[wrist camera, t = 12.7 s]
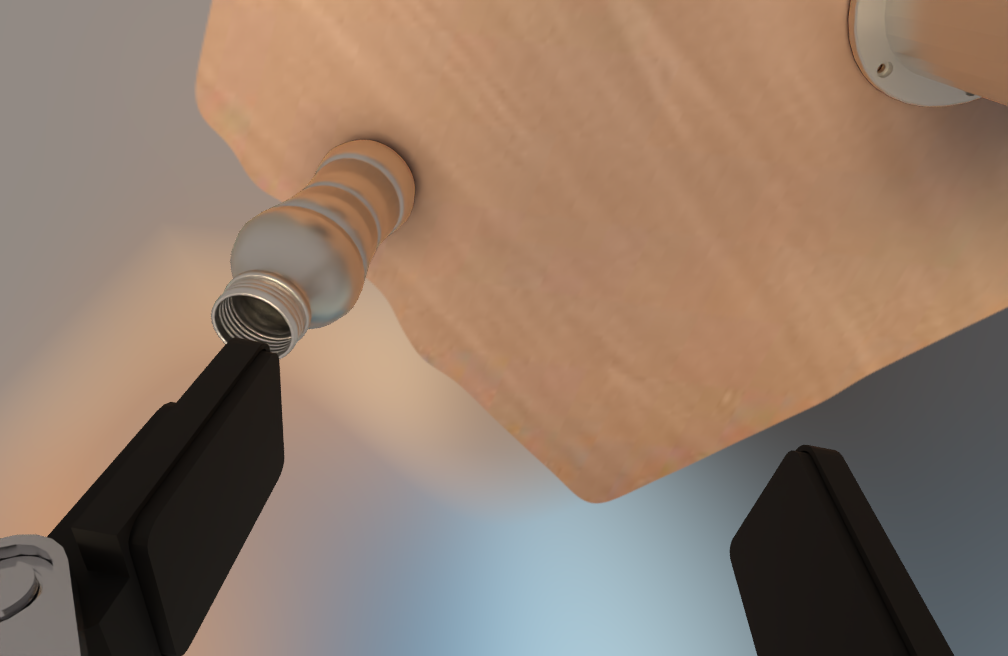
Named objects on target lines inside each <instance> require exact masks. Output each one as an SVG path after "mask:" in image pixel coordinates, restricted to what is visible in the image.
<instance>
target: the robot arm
mask: <svg viewBox="0 0 1008 656" xmlns="http://www.w3.org/2000/svg"><path fill="white" fill-rule="evenodd" d="M848 22H849V40H850V44H851V48H852V52H853V55H854V59H855V61H856V63H857V64H858V66H859V68H860V70H861V72H862V74H863V75H864V76H865V77H866V78H867V79H868V80H869V81H870V83H871V84H872V85H873V86H874V87H875V88H877V89H878V90H880V91H882V92H883V93H885V94H886V95H888V96H890V97H892V98H894V99H897V100H899V101H902V102H904V103H908V104H912V105H917V106H922V107H946V106H952V105H958V104H963V103H968V102H971V101H973V100H976V99H979V98H982V97H983V98H986V99H989V100H992V101H995V102H997V103H1000V104H1003V105H1006V106H1008V0H851V3H850V10H849V17H848ZM881 64H882V68H881V69H880V70H879V71H878V72H877V69H878V67H879V66H880V65H881ZM280 386H281V385H280V366H279V356H278V354H276V353H272V352H270V347H269V345H268V344H267V343H263V342H258V341H253V340H248V339H242V338H237V337H234V338H232V339H230V340H229V341H228V342H227V343H226V345H225V346H224V347H223V348H222V349H221V351H220V352H219V353H218V354H217V355H216V356H215V358H214V359H213V360H212V361H211V363H210V364H209V365H208V366H207V367H206V368H205V370H204V371H203V372H202V373H201V374H200V375H199V377H198V378H197V379H196V380H195V381H194V383H193V384H192V385H191V386H190V387H189V388H188V390H187V391H186V392H185V393H184V394H183V395H182V397H181V398H180V399H179V400H178V401H177V403H174V402H169V403H167V404H165V405H163V406H162V407H161V408H160V409H159V410H158V411H157V412H156V413H155V414H154V415H153V416H152V417H151V418H150V420H149V421H148V422H147V423H146V424H145V425H144V426H143V428H142V429H141V430H140V431H139V432H138V433H137V434H136V436H135V437H134V438H133V439H132V440H131V441H130V442H129V444H128V445H127V446H126V447H125V448H124V449H123V451H122V452H121V453H120V454H119V455H118V456H117V457H116V458H115V460H114V461H113V462H112V463H111V464H110V465H109V467H108V468H107V469H106V470H105V471H104V472H103V473H102V475H101V476H100V477H99V478H98V479H97V480H96V481H95V483H94V484H93V485H92V486H91V487H90V488H89V490H88V491H87V492H86V493H85V494H84V495H83V496H82V497H81V499H80V500H79V501H78V502H77V503H76V504H75V505H74V507H73V508H72V509H71V510H70V511H69V512H68V513H67V515H66V516H65V517H64V518H63V519H62V520H61V522H60V523H59V524H58V525H57V526H56V527H55V529H53V531H52V532H51V533H50V534H49V535H48V536H47V537H44V536H40V535H14V536H10V537H5V538H0V656H182V655H184V654H185V652H186V651H187V649H188V648H189V646H190V644H191V643H192V640H193V639H194V637H195V635H196V633H197V631H198V629H199V628H200V626H201V624H202V622H203V620H204V618H205V616H206V614H207V613H208V611H209V609H210V607H211V605H212V603H213V601H214V599H215V598H216V596H217V594H218V592H219V590H220V588H221V586H222V584H223V582H224V580H225V579H226V577H227V575H228V573H229V571H230V569H231V567H232V565H233V564H234V562H235V560H236V558H237V556H238V554H239V552H240V550H241V549H242V547H243V545H244V543H245V541H246V539H247V537H248V535H249V534H250V532H251V530H252V528H253V526H254V524H255V522H256V520H257V518H258V516H259V515H260V513H261V511H262V509H263V507H264V505H265V503H266V501H267V500H268V498H269V496H270V494H271V492H272V490H273V488H274V486H275V485H276V483H277V481H278V479H279V476H280V475H281V472H282V468H283V464H284V442H283V423H282V405H281V387H280ZM730 559H731V563H732V567H733V570H734V574H735V577H736V581H737V584H738V587H739V591H740V595H741V599H742V602H743V605H744V609H745V613H746V616H747V620H748V623H749V627H750V631H751V634H752V637H753V641H754V645H755V648H756V651H757V655H758V656H954V654H953V653H952V651H951V649H950V647H949V646H948V644H947V642H946V640H945V638H944V636H943V635H942V633H941V631H940V629H939V628H938V626H937V624H936V622H935V620H934V619H933V617H932V615H931V613H930V612H929V610H928V608H927V606H926V604H925V603H924V601H923V599H922V597H921V595H920V594H919V592H918V590H917V588H916V587H915V585H914V583H913V581H912V579H911V578H910V576H909V574H908V572H907V571H906V569H905V567H904V565H903V563H902V562H901V560H900V558H899V556H898V554H897V553H896V551H895V549H894V547H893V546H892V544H891V542H890V540H889V539H888V537H887V535H886V533H885V531H884V529H883V528H882V526H881V524H880V522H879V521H878V519H877V517H876V515H875V513H874V512H873V510H872V508H871V506H870V504H869V503H868V501H867V499H866V498H865V496H864V494H863V492H862V491H861V488H860V487H859V485H858V483H857V481H856V479H855V478H854V476H853V474H852V473H851V471H850V469H849V467H848V465H847V463H846V462H845V460H844V458H843V457H842V455H841V454H840V453H839V452H837V451H836V450H831V449H826V448H820V447H815V446H810V445H802V446H800V447H798V449H797V450H796V451H790V452H788V454H786V456H785V457H784V459H783V461H782V462H781V464H780V465H779V467H778V469H777V470H776V472H775V473H774V475H773V476H772V478H771V479H770V481H769V483H768V484H767V486H766V487H765V489H764V490H763V492H762V494H761V495H760V497H759V498H758V500H757V501H756V503H755V505H754V506H753V508H752V509H751V511H750V513H749V514H748V516H747V517H746V519H745V520H744V522H743V524H742V525H741V527H740V528H739V530H738V531H737V533H736V535H735V536H734V538H733V540H732V542H731V546H730Z"/></svg>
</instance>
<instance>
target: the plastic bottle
mask: <svg viewBox="0 0 1008 656" xmlns="http://www.w3.org/2000/svg"><path fill="white" fill-rule="evenodd" d="M414 196H415V185H414V179H413V176H412V173H411V171H410V169H409V167H408V165H407V164H406V163H405V161H404V160H403V159H402V157H401V156H399V155H398V154H397V153H396V152H395V151H394V150H392V149H391V148H389V147H388V146H386V145H384V144H381V143H379V142H376V141H372V140H355V141H350V142H347V143H343V144H341V145H339V146H336V147H335V148H333V149H332V150H331V151H329V152H328V154H327V155H326V156H325V157H324V159H323V160H322V162H321V163H320V165H319V166H318V169H317V171H316V173H315V175H314V177H313V179H312V180H311V181H310V182H309V184H308V185H307V186H306V188H304V189H303V190H301V191H300V192H299V193H297V194H296V195H295V196H293V197H292V198H290V199H288V200H286V201H284V202H282V203H280V204H278V205H276V206H274V207H272V208H270V209H268V210H266V211H263V212H261V213H260V214H258V215H257V216H255V217H254V218H252V219H251V220H250V221H248V222H247V223H246V224H245V225H244V226H243V227H242V229H241V230H240V231H239V233H238V236H237V238H236V240H235V243H234V246H233V249H232V251H231V259H230V263H231V272H232V276H233V279H232V280H231V281H230V283H229V284H228V285H227V286H226V288H225V290H224V292H223V294H222V295H221V296H220V297H219V298H218V299H217V300H216V302H215V304H214V306H213V308H212V314H211V319H212V324H213V327H214V330H215V331H216V333H217V335H218V336H219V338H220V339H221V340H222V341H223V342H224V343H225V344H226V343H227V342H228V341H229V340H230V339H232V338H234V337H237V338H242V339H248V340H253V341H258V342H263V343H267V344H268V345H269V347H270V352H272V353H276V354H278V356H279V359H281V358H283V357H285V356H286V355H287V354H288V353H289V352H290V351H291V350H292V349H293V348H294V346H295V345H296V343H297V342H298V341H299V340H300V339H301V338H302V337H303V336H304V334H305V333H306V332H307V330H308V329H314V328H321V327H324V326H327V325H329V324H331V323H333V322H334V321H336V320H338V319H339V318H341V317H343V316H344V315H346V314H347V313H348V312H349V311H350V310H351V309H352V308H353V306H354V305H355V303H356V301H357V300H358V298H359V295H360V293H361V291H362V288H363V284H364V281H365V277H366V274H367V271H368V267H369V264H370V262H371V260H372V258H373V256H374V254H375V252H376V250H377V248H378V246H379V245H380V244H381V243H382V242H383V241H384V240H385V238H386V237H387V236H389V235H390V234H392V233H393V232H395V231H396V230H397V229H398V228H399V227H400V226H401V225H402V224H403V223H404V222H405V221H406V220H407V219H408V217H409V215H410V214H411V211H412V208H413V204H414Z"/></svg>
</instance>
